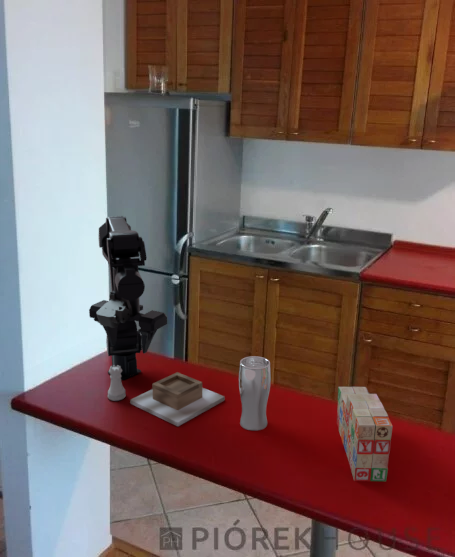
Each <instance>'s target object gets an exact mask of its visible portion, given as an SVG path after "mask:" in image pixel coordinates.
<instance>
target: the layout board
mask: <svg viewBox="0 0 455 557" xmlns="http://www.w3.org/2000/svg"><path fill="white" fill-rule="evenodd" d="M151 386H152V387H151V389H150V390H148V391H146V392H144V393H141V394H139V395H137V396H135V397H133V398H131V399H129V401H130V402H129V403H130V405H132V406H135V407H136V408H139V409H140V410H143V411H144V412H146V413H149V414H150V415H153V416H155V417H157V418H159V419H162V420H164V421H165V422H168V423H169V424H172V425H174V426H175V427H180V426H181V425H183V424H186V423H187V422H190V420H192V419H195V417H198V416H199V415H202V413H204V412H205V413H206V412H207V411H208V410H210V409H211V408H213V407H215V406H217V405H219V404H221V403H222V402H224V401H225V399H226V398H225V395H222V394H220V393H217V392H215V391H212V390H209V389H207V388H204V387H203V381H200V380H198V379H195V378H193V377H191V376H188V375H185V374H182V373H181V372H178V371H177V372H175V373H172V374H171V375H169V376H166V377H164V378H161V379H160V380H157V381H156V382H153V383H152V385H151Z"/></svg>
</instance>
